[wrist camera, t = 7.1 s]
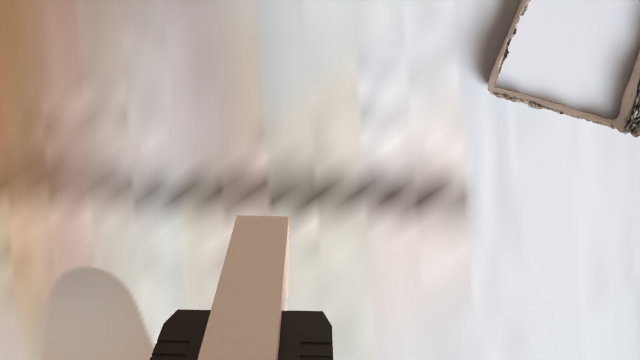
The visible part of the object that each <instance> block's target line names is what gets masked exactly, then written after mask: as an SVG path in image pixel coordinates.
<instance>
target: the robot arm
mask: <svg viewBox="0 0 640 360" xmlns="http://www.w3.org/2000/svg"><path fill="white" fill-rule="evenodd" d="M288 245H289V217H275V216H237V217H236V221H235V225H234V228H233V232H232V235H231V239H230V243H229V246H228V250H227V254H226V257H225V261H224V265H223V268H222V272H221V276H220V279H219V283H218V287H217V290H216V294H215V298H214V301H213V305H212V309H211V310H177V311H176V312H175V313H174V314H173V315H172V316H171V317H170V318H169V319H168V320H167V321H166V322H165V323H164V324H163V327H162V329H161V332H160V335H159V337H158V340H157V343H156V345H155V348H154V350H153V353H152V357H151V358H150V360H333V346H332V326H331V324H330V322H329V321H328V319H327V318H326V316H325V314H324V313H323V311H287V300H288Z"/></svg>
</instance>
